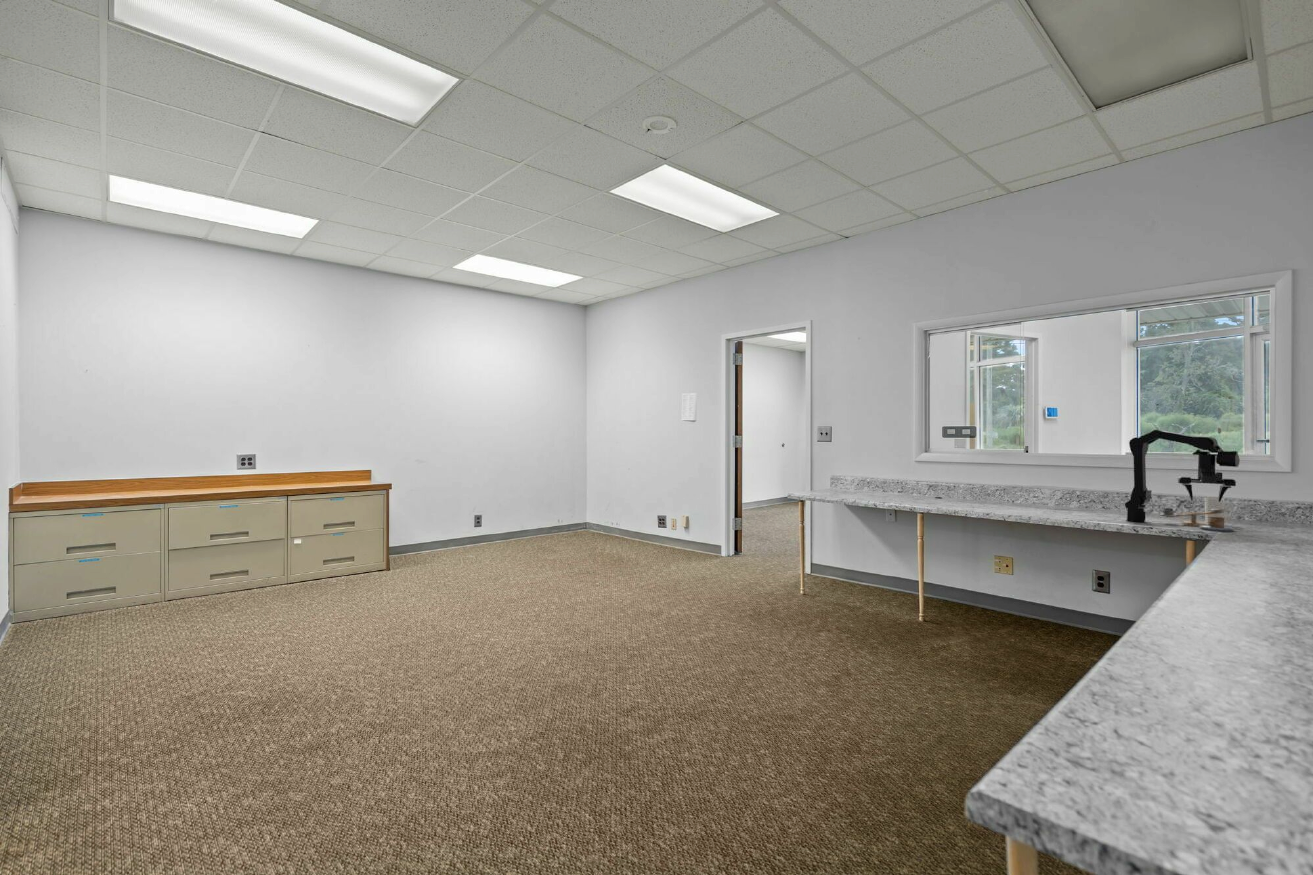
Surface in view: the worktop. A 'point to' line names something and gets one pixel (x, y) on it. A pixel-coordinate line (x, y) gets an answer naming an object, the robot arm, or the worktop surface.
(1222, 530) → the dish
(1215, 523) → the block
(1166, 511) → the balance
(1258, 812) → the worktop surface
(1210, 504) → the mug
